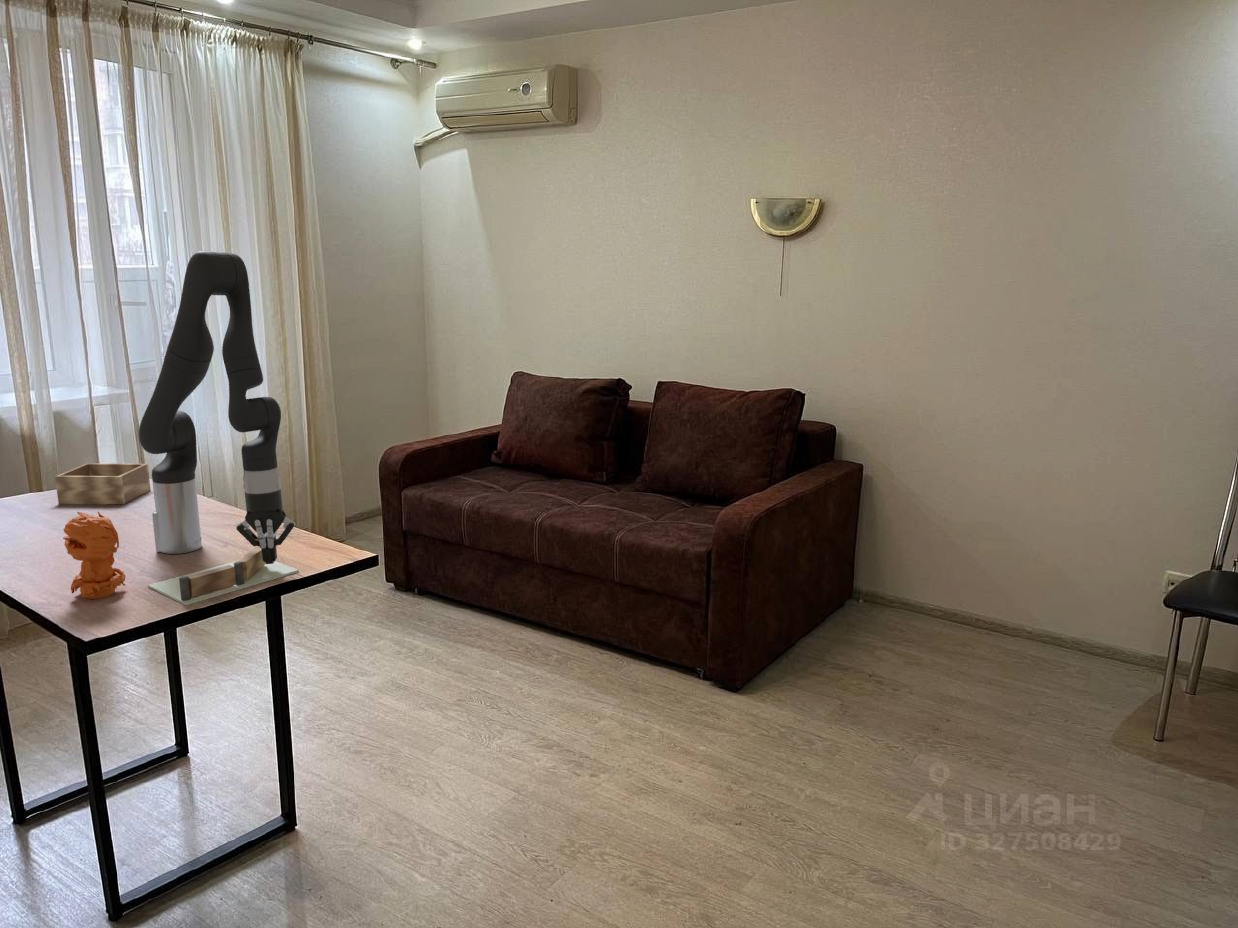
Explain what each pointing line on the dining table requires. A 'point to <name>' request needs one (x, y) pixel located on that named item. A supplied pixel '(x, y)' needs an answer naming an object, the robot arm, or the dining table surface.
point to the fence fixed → (211, 580)
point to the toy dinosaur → (93, 555)
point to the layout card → (262, 575)
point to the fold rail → (252, 562)
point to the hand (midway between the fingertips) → (270, 562)
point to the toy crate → (102, 483)
